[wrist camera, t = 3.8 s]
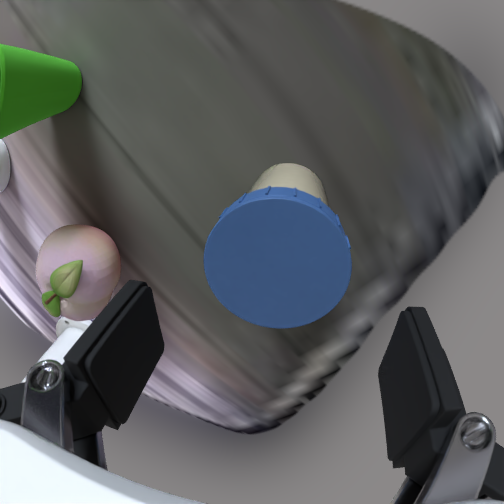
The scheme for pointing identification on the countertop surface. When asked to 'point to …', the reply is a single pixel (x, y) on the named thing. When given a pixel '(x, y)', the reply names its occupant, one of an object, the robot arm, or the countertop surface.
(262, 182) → the jar
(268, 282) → the jar lid
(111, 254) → the decorative fruit
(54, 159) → the countertop surface
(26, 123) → the cup
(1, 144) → the milk bottle
